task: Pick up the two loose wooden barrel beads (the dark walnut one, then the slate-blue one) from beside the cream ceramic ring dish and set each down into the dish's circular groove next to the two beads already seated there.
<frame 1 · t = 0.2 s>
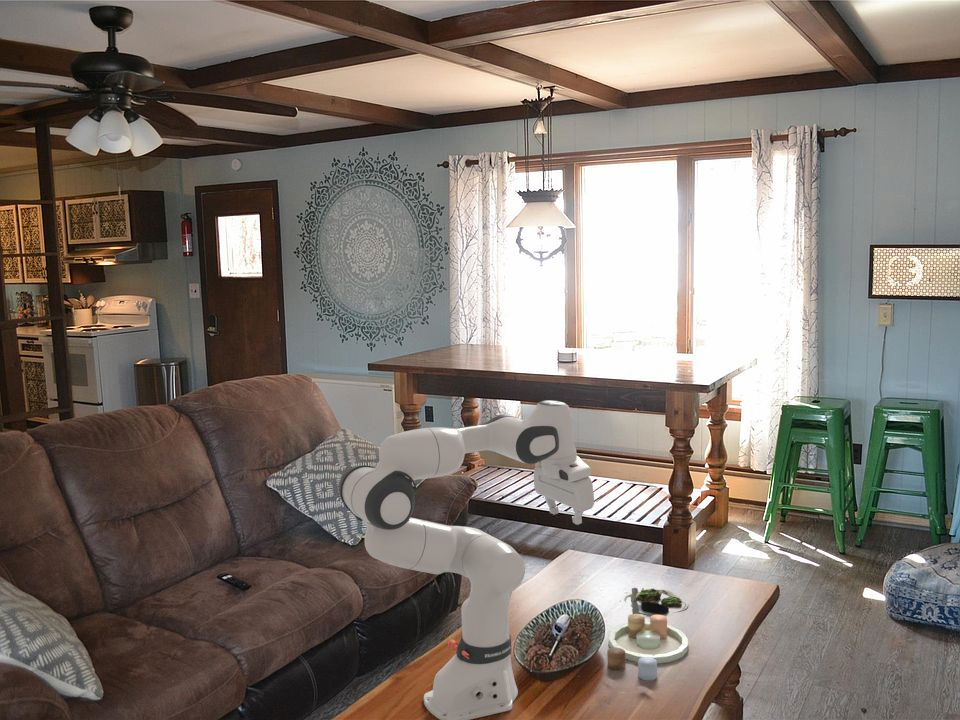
hand: (565, 518, 208), 38 cm above the table, tool pointing down, fingers open, 8 cm apart
walnut bead: (616, 670, 210), on the table
honey oak bead: (636, 635, 226), point 1 cm above the table, touching ring dish
slate-blue bead: (647, 680, 205), on the table
salad plate: (655, 608, 245), on the table
terracotta bead: (658, 636, 225), point 1 cm above the table, touching ring dish
ring dish: (648, 648, 220), on the table
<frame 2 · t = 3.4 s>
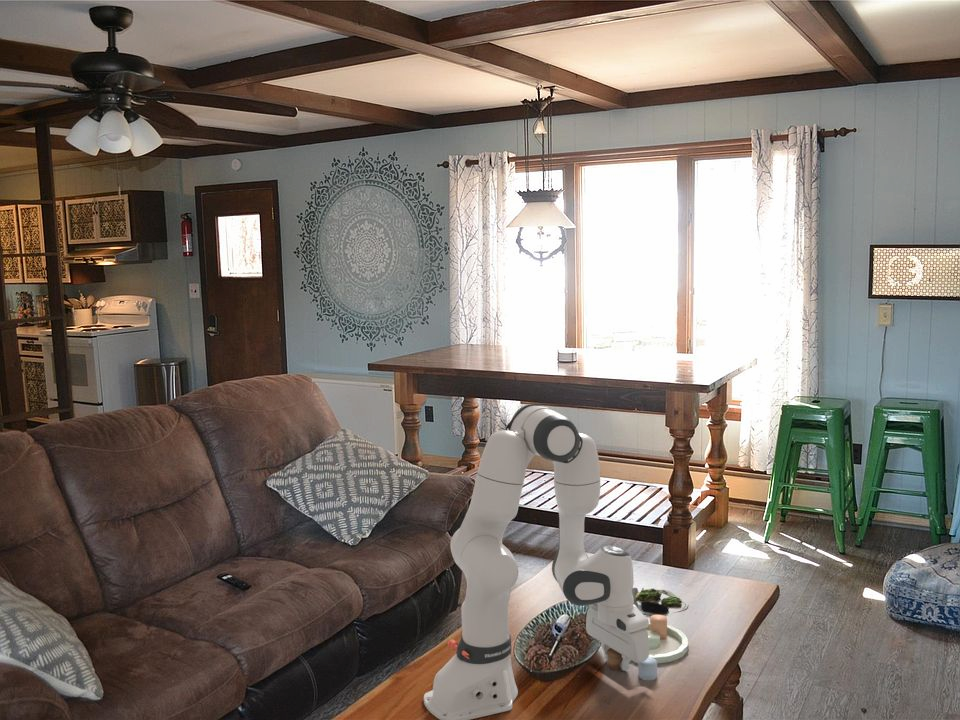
hand: (616, 664, 210), 2 cm above the table, tool pointing down, fingers closed on walnut bead, 4 cm apart
walnut bead: (616, 670, 210), on the table, touching gripper
everything else where it was.
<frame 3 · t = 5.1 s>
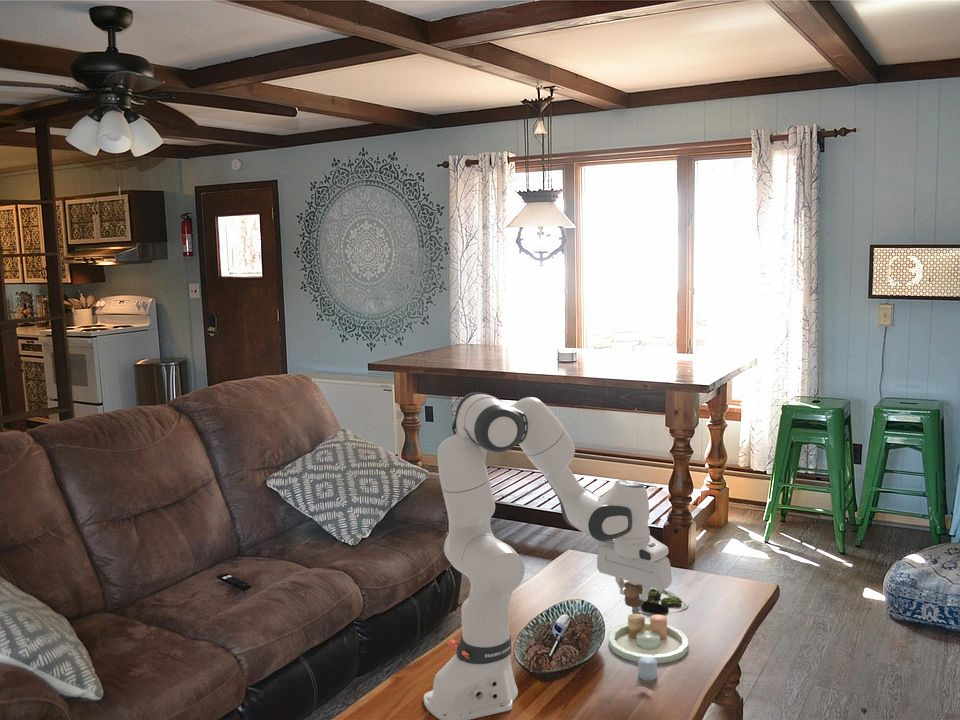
hand: (633, 597, 212), 17 cm above the table, tool pointing down, fingers closed on walnut bead, 4 cm apart
walnut bead: (634, 603, 212), point 15 cm above the table, touching gripper
everything else where it was.
when the fingers open (4 cm above the table, at t = 7.1 s): walnut bead stays where it is, resting on ring dish.
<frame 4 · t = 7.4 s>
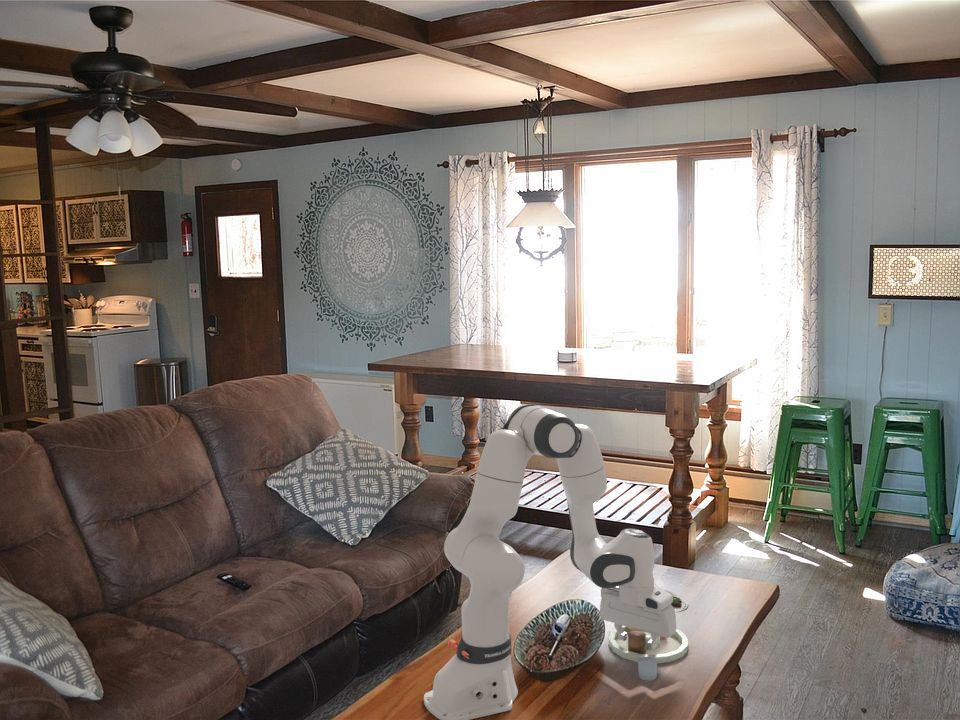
hand: (637, 643, 215), 4 cm above the table, tool pointing down, fingers open, 7 cm apart
walnut bead: (637, 652, 216), point 1 cm above the table, touching ring dish
everything else where it was.
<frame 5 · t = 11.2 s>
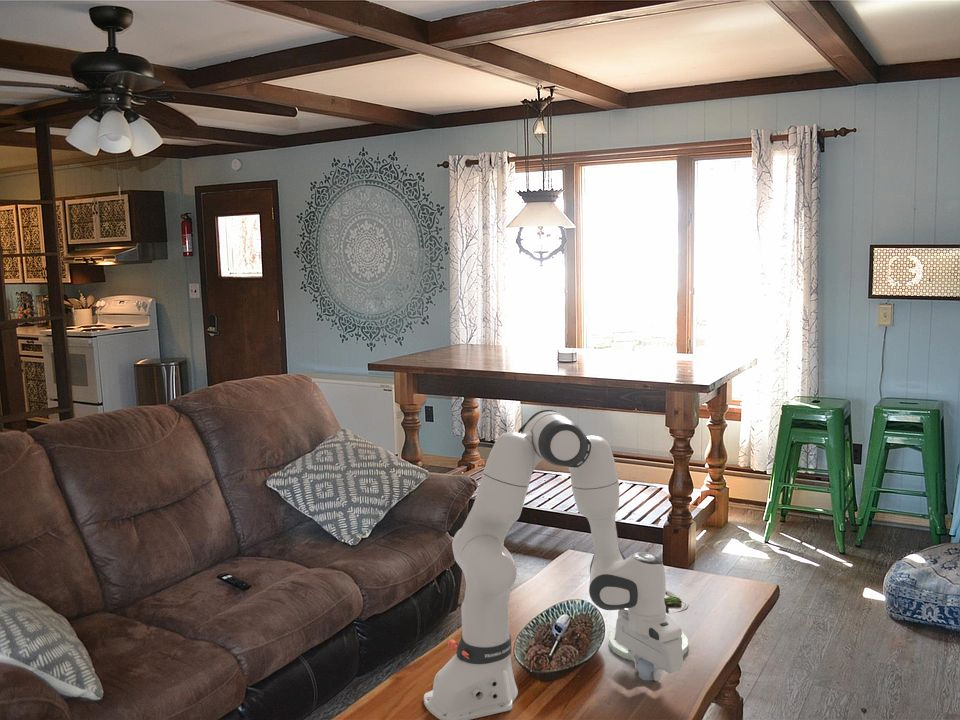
hand: (647, 674, 204), 2 cm above the table, tool pointing down, fingers closed on slate-blue bead, 4 cm apart
slate-blue bead: (647, 680, 205), on the table, touching gripper
everything else where it was.
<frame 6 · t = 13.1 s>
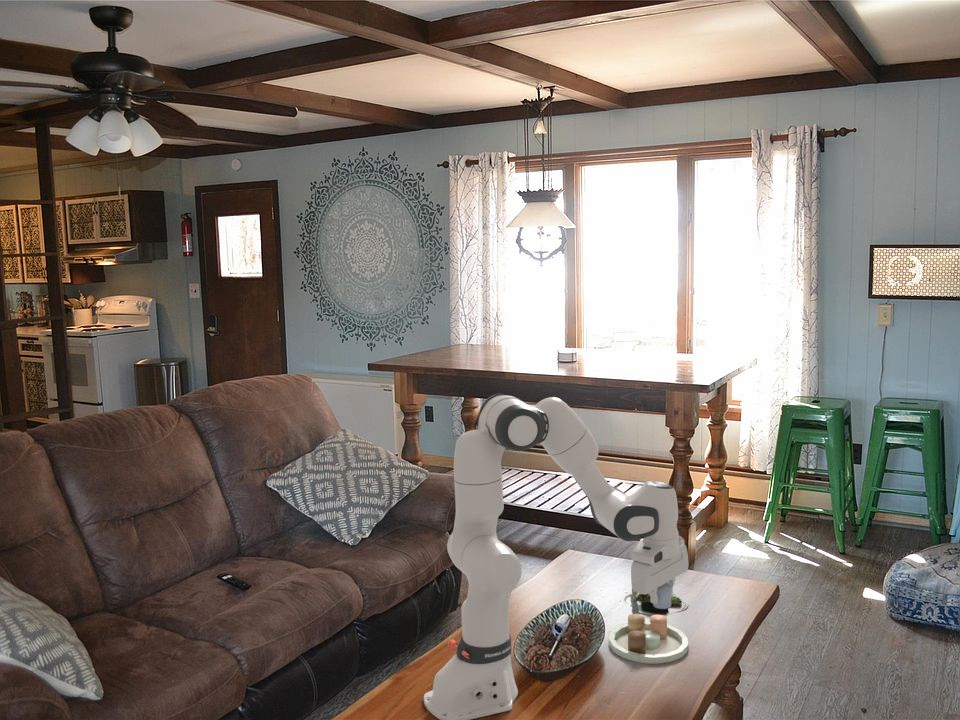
hand: (661, 598, 211), 17 cm above the table, tool pointing down, fingers closed on slate-blue bead, 4 cm apart
slate-blue bead: (662, 605, 211), point 15 cm above the table, touching gripper
everything else where it was.
when the fingers open (4 cm above the table, at t = 15.2 s): slate-blue bead stays where it is, resting on ring dish.
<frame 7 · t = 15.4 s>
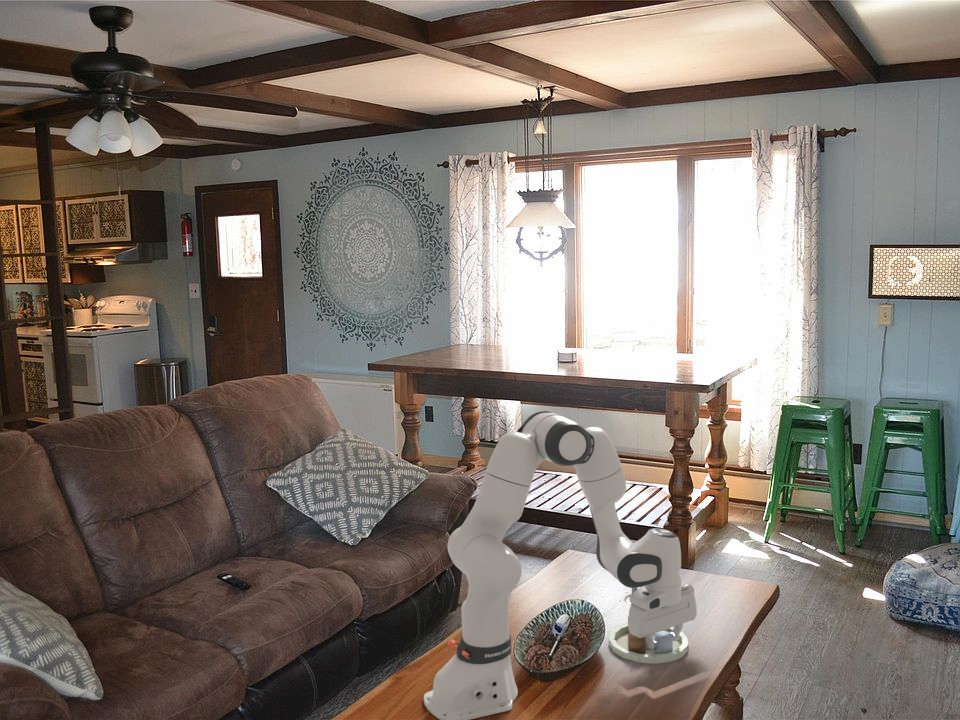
hand: (663, 643, 215), 4 cm above the table, tool pointing down, fingers open, 6 cm apart
slate-blue bead: (663, 653, 215), point 1 cm above the table, touching ring dish
everything else where it was.
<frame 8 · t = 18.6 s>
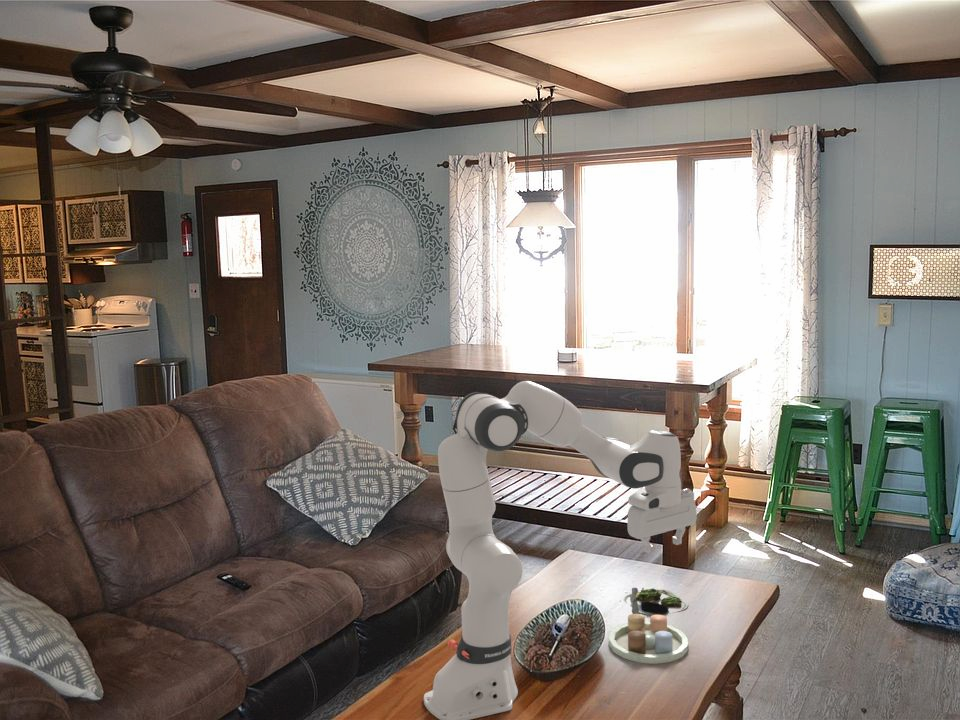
hand: (663, 547, 212), 29 cm above the table, tool pointing down, fingers open, 8 cm apart
nothing on the table moved.
at the end: walnut bead inside the target area on the ring dish (5.8 cm from its centre), point 1.2 cm above the ring dish's base; slate-blue bead inside the target area on the ring dish (5.9 cm from its centre), point 1.2 cm above the ring dish's base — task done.
